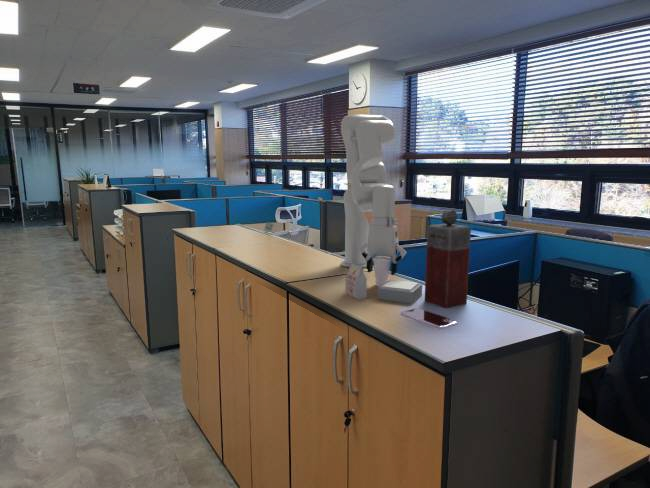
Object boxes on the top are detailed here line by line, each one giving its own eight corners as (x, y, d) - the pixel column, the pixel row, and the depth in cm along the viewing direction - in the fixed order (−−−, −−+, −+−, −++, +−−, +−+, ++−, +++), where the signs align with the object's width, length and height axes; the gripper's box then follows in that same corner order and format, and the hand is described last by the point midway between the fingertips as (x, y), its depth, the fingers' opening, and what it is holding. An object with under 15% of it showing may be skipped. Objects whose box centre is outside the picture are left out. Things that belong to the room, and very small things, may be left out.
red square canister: (439, 294, 151) (443, 207, 147) (467, 303, 142) (472, 210, 137) (418, 299, 146) (422, 208, 142) (446, 308, 137) (451, 211, 133)
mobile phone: (417, 306, 136) (460, 320, 124) (417, 310, 136) (459, 324, 125) (398, 311, 132) (440, 326, 120) (398, 315, 132) (440, 330, 120)
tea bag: (355, 292, 154) (356, 262, 152) (366, 297, 148) (366, 266, 146) (345, 293, 152) (346, 263, 151) (355, 299, 146) (356, 267, 144)
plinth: (388, 290, 156) (389, 278, 155) (421, 294, 151) (422, 282, 151) (377, 299, 146) (378, 286, 146) (412, 303, 142) (413, 290, 141)
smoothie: (369, 286, 161) (370, 246, 159) (374, 282, 167) (375, 243, 165) (388, 288, 159) (389, 247, 156) (392, 284, 165) (393, 244, 162)
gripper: (411, 222, 159) (409, 273, 162) (362, 219, 166) (361, 268, 169) (405, 224, 152) (403, 278, 155) (354, 221, 160) (353, 272, 163)
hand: (381, 272), depth 162 cm, fingers open, 7 cm apart
